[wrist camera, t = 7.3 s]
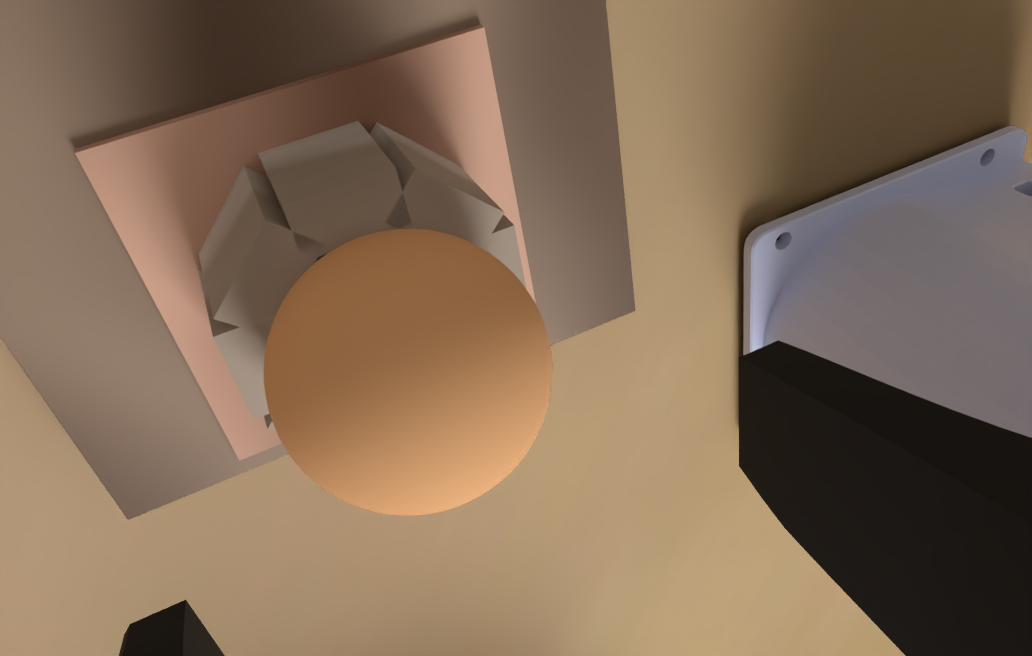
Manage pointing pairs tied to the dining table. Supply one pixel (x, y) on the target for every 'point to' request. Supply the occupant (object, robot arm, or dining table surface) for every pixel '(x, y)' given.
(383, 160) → the rack
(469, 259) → the ball
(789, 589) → the dining table surface
